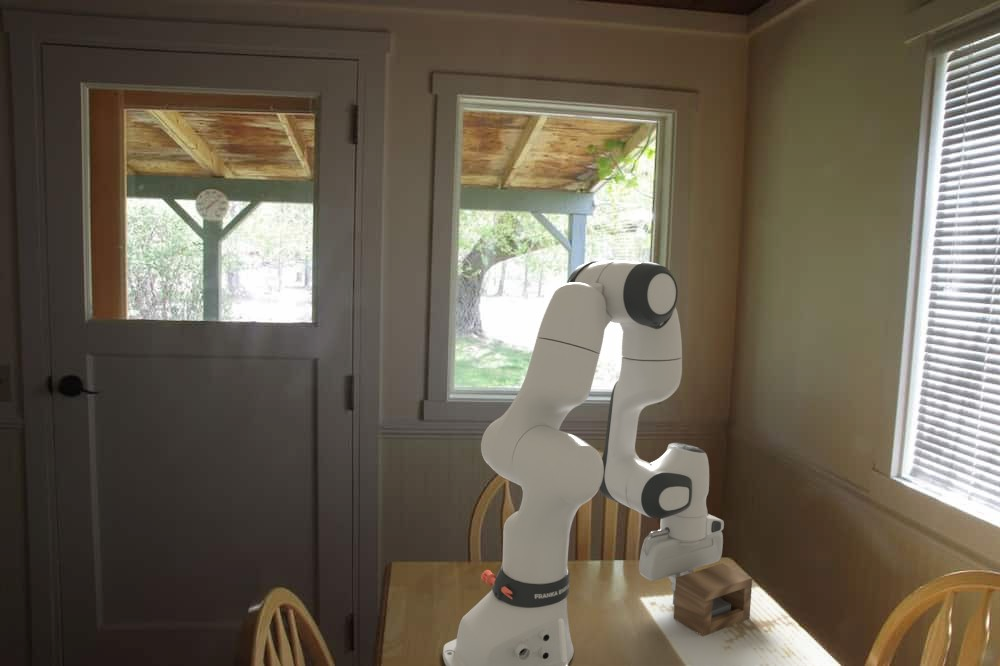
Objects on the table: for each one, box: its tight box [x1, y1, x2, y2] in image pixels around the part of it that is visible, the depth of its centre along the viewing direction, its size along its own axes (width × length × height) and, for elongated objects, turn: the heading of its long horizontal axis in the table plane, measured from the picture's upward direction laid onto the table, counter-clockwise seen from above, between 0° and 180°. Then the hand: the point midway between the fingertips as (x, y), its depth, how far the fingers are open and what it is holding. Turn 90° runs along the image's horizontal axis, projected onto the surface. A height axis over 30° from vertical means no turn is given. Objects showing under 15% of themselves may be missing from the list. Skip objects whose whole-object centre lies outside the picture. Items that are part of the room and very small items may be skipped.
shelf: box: [673, 563, 753, 637], centre depth 122 cm, size 13×7×8 cm, turn 121°
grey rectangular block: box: [672, 591, 731, 618], centre depth 125 cm, size 6×9×3 cm, turn 31°
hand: (679, 590), depth 129 cm, fingers closed
